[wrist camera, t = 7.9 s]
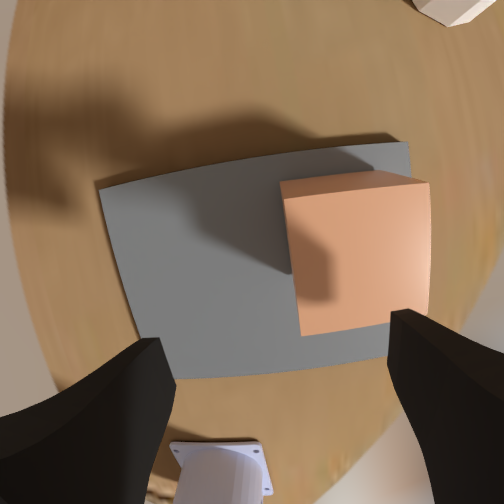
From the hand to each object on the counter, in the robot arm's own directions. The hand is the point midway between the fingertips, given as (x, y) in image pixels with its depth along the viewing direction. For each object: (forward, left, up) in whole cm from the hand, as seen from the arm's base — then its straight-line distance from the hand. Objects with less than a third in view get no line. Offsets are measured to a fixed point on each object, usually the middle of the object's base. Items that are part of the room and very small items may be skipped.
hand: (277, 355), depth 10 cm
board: (-1, +1, -9) cm, 9 cm away
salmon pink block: (+2, -3, -8) cm, 9 cm away
